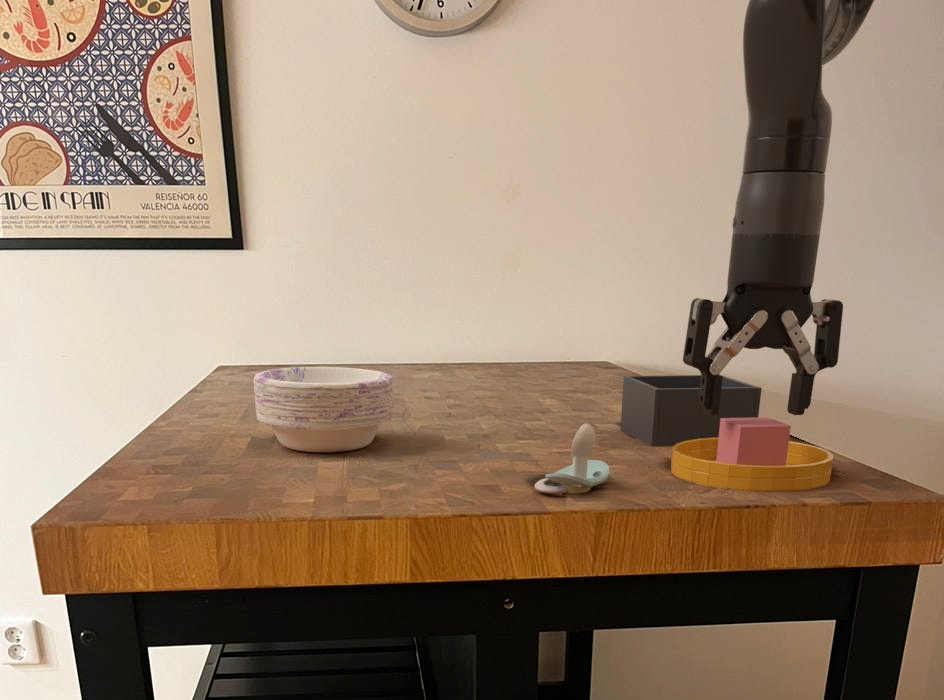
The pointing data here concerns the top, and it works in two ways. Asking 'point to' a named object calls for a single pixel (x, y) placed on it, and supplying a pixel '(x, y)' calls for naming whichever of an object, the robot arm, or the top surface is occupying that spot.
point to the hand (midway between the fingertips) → (753, 414)
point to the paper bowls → (323, 406)
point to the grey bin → (680, 408)
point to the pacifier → (577, 467)
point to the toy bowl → (751, 468)
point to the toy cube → (753, 441)
